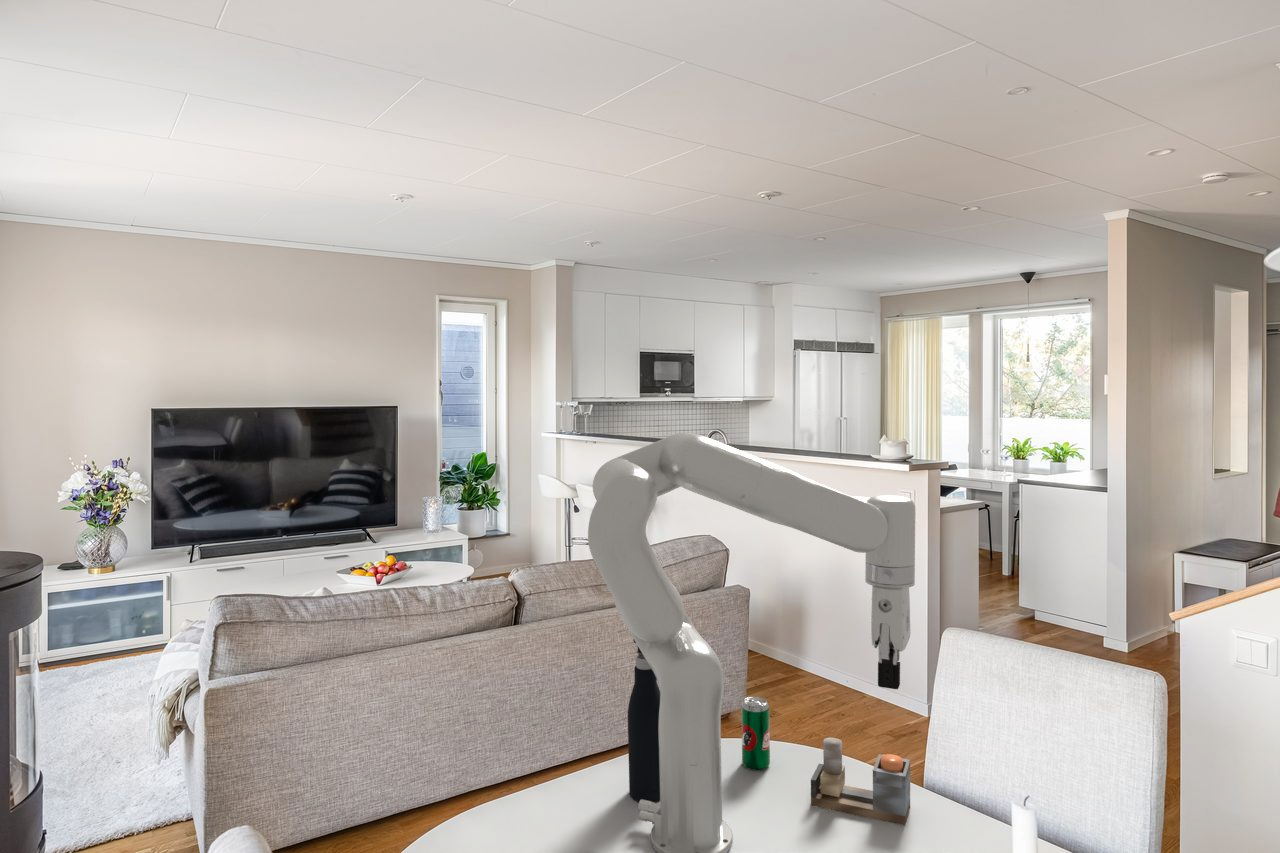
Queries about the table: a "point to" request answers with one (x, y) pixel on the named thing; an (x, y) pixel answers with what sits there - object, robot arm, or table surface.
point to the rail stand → (870, 795)
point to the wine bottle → (644, 733)
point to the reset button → (892, 763)
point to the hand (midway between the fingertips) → (888, 686)
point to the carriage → (832, 768)
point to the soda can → (755, 733)
